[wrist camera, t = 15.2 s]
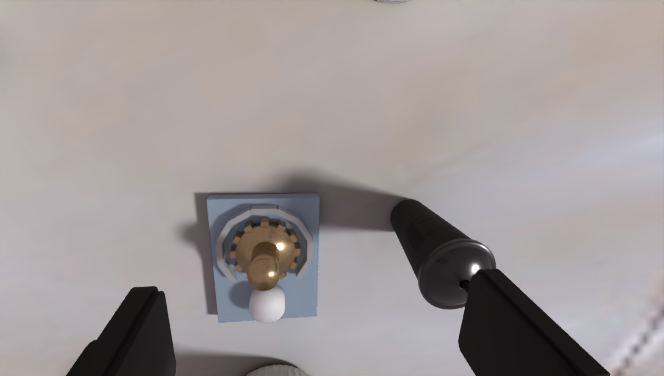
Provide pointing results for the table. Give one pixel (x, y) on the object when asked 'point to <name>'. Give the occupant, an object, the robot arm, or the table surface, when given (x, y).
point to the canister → (278, 371)
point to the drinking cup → (439, 254)
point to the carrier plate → (232, 286)
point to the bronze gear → (265, 252)
